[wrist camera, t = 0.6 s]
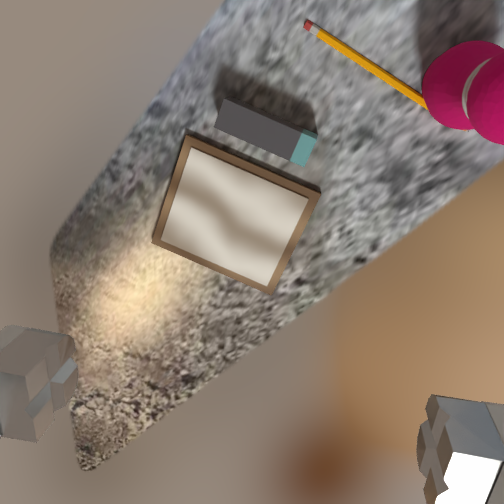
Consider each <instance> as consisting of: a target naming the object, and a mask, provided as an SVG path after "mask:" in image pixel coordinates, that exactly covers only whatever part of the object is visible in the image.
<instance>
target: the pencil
mask: <svg viewBox="0 0 504 504" xmlns="http://www.w3.org/2000/svg"><path fill="white" fill-rule="evenodd" d="M304 28H305V29H306V30H308V31H309V32H311V33H312V34H314V35H315V36H317V37H318V38H320V39H321V40H323V41H324V42H326V43H327V44H329V45H330V46H332V47H333V48H335V49H336V50H338V51H339V52H341V53H342V54H344V55H345V56H347V57H348V58H350V59H351V60H353V61H354V62H356V63H358V64H359V65H361V66H362V67H364V68H365V69H367V70H368V71H370V72H371V73H373V74H374V75H376V76H377V77H379V78H380V79H382V80H383V81H385V82H386V83H388V84H389V85H391V86H392V87H394V88H395V89H397V90H398V91H400V92H401V93H403V94H404V95H406V96H407V97H409V98H410V99H412V100H413V101H415V102H417V103H418V104H420V105H421V106H423V107H424V108H426V109H427V110H428V108H427V106H426V103H425V101H424V98H423V96H422V95H421V94H419V93H418V92H416V91H415V90H413V89H412V88H410V87H409V86H407V85H406V84H404V83H403V82H401V81H400V80H398V79H397V78H395V77H394V76H392V75H391V74H389V73H388V72H386V71H385V70H383V69H382V68H380V67H379V66H377V65H376V64H374V63H373V62H371V61H370V60H368V59H367V58H365V57H364V56H362V55H361V54H359V53H357V52H356V51H354V50H353V49H351V48H350V47H348V46H347V45H345V44H344V43H342V42H341V41H339V40H338V39H336V38H335V37H333V36H332V35H330V34H329V33H327V32H326V31H324V30H323V29H321V28H320V27H318V26H317V25H315V24H314V23H312V22H311V21H309V20H307V22H306V23H305V25H304ZM464 131H468V130H464ZM468 132H469V131H468Z"/></svg>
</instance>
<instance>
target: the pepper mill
mask: <svg viewBox="0 0 504 504" xmlns="http://www.w3.org/2000/svg"><path fill="white" fill-rule="evenodd" d="M422 95H423V98H424V101H425V103H426V106H427V108H428V110H429V112H430V114H431V115H432V116H433V117H434V119H435V120H437V121H438V122H439V123H441V124H443V125H444V126H447V127H450V128H454V129H460V130H470V129H475V130H476V131H477V132H478V133H479V134H480V135H481V136H483V137H484V138H485V139H487V140H489V141H491V142H494V143H498V144H501V145H504V49H503V48H502V47H500V46H498V45H496V44H493V43H490V42H485V41H468V42H464V43H461V44H458V45H456V46H454V47H452V48H450V49H449V50H447V51H446V52H444V53H443V54H442V55H440V56H439V57H438V58H436V59H435V60H434V61H433V62H432V64H431V65H430V66H429V68H428V69H427V71H426V73H425V75H424V78H423V82H422Z"/></svg>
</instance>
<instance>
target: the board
mask: <svg viewBox="0 0 504 504" xmlns="http://www.w3.org/2000/svg"><path fill="white" fill-rule="evenodd" d="M320 196H321V193H320V192H318V191H316V190H314V189H311V188H309V187H307V186H304V185H302V184H300V183H298V182H295V181H293V180H291V179H289V178H286V177H284V176H282V175H279V174H277V173H275V172H273V171H270V170H268V169H266V168H264V167H261V166H259V165H257V164H254V163H252V162H250V161H248V160H245V159H243V158H241V157H239V156H236V155H234V154H232V153H230V152H227V151H225V150H223V149H220V148H218V147H216V146H214V145H211V144H209V143H207V142H205V141H202V140H200V139H198V138H195V137H193V136H191V135H189V134H187V135H186V137H185V140H184V143H183V146H182V149H181V152H180V155H179V159H178V162H177V165H176V168H175V171H174V174H173V177H172V180H171V183H170V186H169V190H168V193H167V196H166V199H165V202H164V205H163V208H162V211H161V214H160V218H159V221H158V224H157V227H156V230H155V233H154V236H153V239H152V242H151V243H153V244H155V245H157V246H160V247H162V248H164V249H167V250H169V251H171V252H173V253H176V254H178V255H180V256H183V257H185V258H187V259H189V260H192V261H194V262H196V263H199V264H201V265H203V266H205V267H208V268H210V269H212V270H215V271H217V272H219V273H221V274H224V275H226V276H228V277H230V278H233V279H235V280H237V281H240V282H242V283H244V284H246V285H249V286H251V287H253V288H256V289H258V290H260V291H262V292H265V293H267V294H269V295H272V293H273V291H274V289H275V287H276V285H277V283H278V281H279V279H280V277H281V275H282V273H283V271H284V269H285V267H286V265H287V263H288V261H289V259H290V257H291V255H292V253H293V251H294V249H295V247H296V245H297V242H298V240H299V238H300V236H301V234H302V232H303V230H304V228H305V226H306V224H307V222H308V220H309V218H310V216H311V214H312V212H313V210H314V208H315V206H316V204H317V202H318V200H319V198H320Z"/></svg>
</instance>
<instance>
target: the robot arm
mask: <svg viewBox="0 0 504 504" xmlns="http://www.w3.org/2000/svg"><path fill="white" fill-rule="evenodd" d="M75 351H76V348H75V342H74V338H72V337H71V336H70V335H66V334H61V333H55V332H50V331H45V330H39V329H34V328H27V327H22V326H16V325H10V326H6V327H4V328H3V329H2V330H1V331H0V438H1V437H7V438H12V439H19V440H24V441H30V442H36V443H37V442H38V441H39V439H40V438H41V437H42V436H43V434H44V433H45V432H46V430H47V429H48V428H49V427H50V425H51V424H52V423H53V421H54V420H55V418H54V411H56V410H58V409H60V408H62V407H64V406H66V405H67V403H68V402H69V401H70V399H71V398H72V396H73V394H74V391H75V389H76V386H77V383H78V366H77V364H76V363H75V362H74V361H73V359H72V358H71V356H72V355H73V353H74V352H75ZM425 409H426V412H427V417H428V420H427V421H425V422H424V423H422V424H421V425H420V429H419V433H418V437H417V461H418V466H419V471H420V472H421V473H422V474H423V475H424V476H425V477H426V478H427V480H426V483H425V486H424V489H423V490H424V495H425V499H426V504H504V404H497V403H490V402H483V401H482V402H478V401H472V400H465V399H459V398H453V397H446V396H440V395H433V394H432V395H431V396H430V398H429V399H428V402H427V405H426V408H425Z"/></svg>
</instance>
